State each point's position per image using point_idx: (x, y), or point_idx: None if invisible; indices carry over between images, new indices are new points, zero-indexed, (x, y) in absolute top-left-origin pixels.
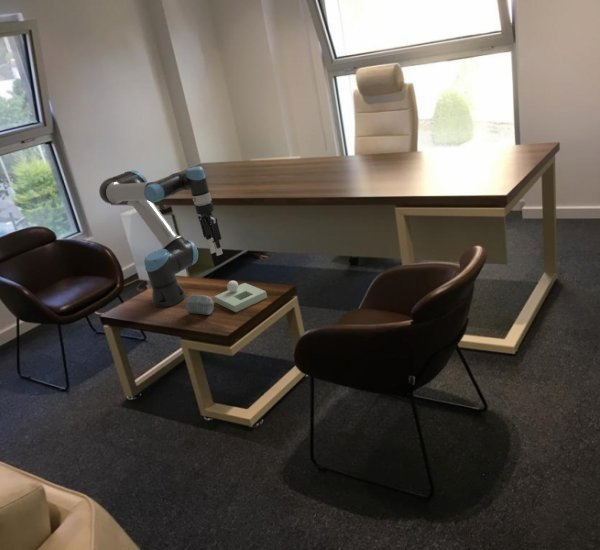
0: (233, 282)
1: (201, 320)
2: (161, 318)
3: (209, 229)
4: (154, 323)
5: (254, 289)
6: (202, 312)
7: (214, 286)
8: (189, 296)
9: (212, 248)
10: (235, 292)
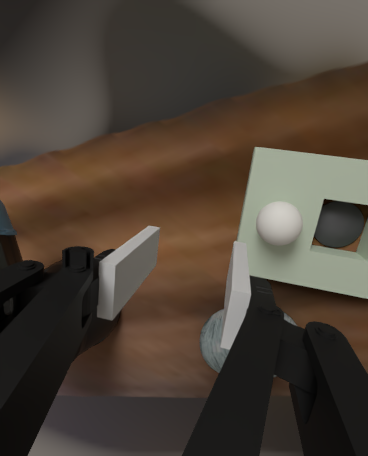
0: (295, 228)
1: None
2: (159, 374)
3: (49, 356)
4: (167, 395)
5: (355, 175)
6: None
7: (120, 183)
8: (215, 364)
9: (146, 262)
10: None
